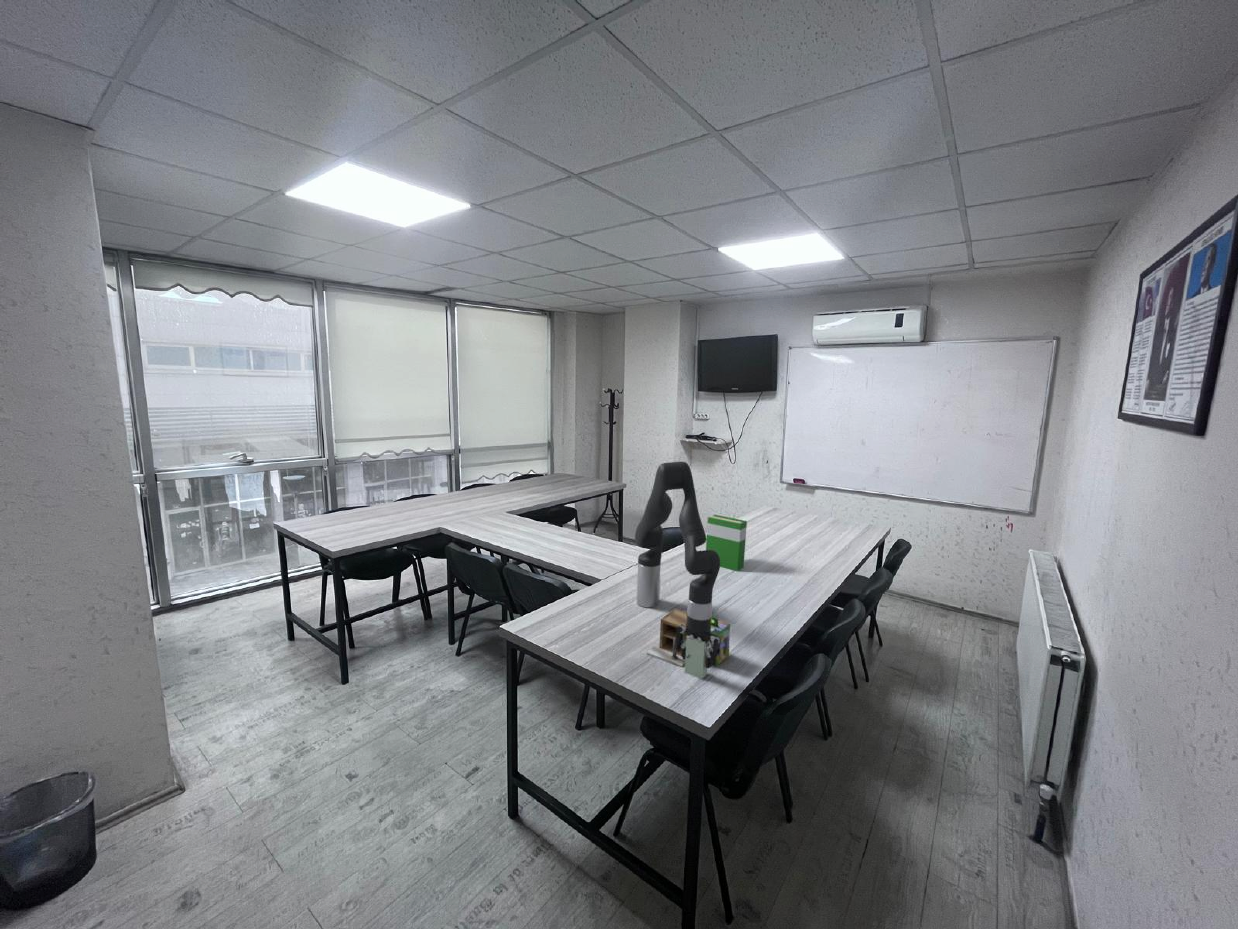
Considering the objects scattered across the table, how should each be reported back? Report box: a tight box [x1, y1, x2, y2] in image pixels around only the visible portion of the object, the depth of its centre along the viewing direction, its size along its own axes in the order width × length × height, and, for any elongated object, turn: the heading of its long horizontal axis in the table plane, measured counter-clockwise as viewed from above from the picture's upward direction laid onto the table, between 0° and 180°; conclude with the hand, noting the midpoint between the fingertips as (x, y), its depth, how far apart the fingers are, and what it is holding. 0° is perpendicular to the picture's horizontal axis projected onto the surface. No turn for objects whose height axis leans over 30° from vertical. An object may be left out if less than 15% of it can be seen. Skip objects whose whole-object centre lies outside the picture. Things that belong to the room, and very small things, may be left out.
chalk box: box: [709, 616, 731, 667], centre depth 164 cm, size 9×9×15 cm
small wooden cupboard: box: [646, 608, 687, 668], centre depth 167 cm, size 15×13×11 cm
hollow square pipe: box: [684, 636, 708, 679], centre depth 154 cm, size 4×6×12 cm
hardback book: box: [705, 514, 748, 572], centre depth 248 cm, size 18×7×24 cm, turn 52°
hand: (696, 662), depth 155 cm, fingers open, 7 cm apart
